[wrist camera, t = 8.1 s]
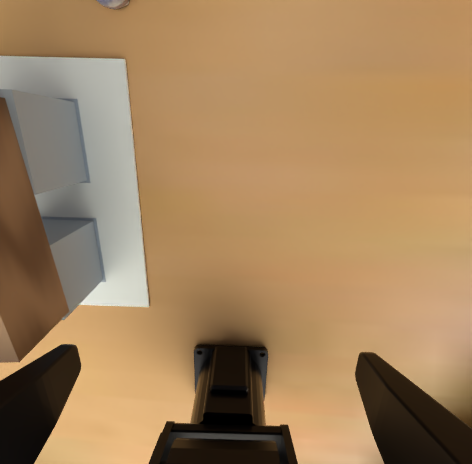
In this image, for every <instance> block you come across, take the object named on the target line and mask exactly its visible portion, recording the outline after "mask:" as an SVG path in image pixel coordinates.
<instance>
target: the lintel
mask: <svg viewBox="0 0 472 464" xmlns="http://www.w3.org/2000/svg"><path fill="white" fill-rule="evenodd" d="M68 312H69V308H68V305H67V301H66V298H65V295H64V292H63V288H62V285H61V282H60V278H59V275H58V272H57V268H56V265H55V262H54V258H53V255H52V252H51V249H50V245H49V242H48V239H47V235H46V232H45V229H44V225H43V222H42V219H41V216H40V212H39V209H38V206H37V202H36V199H35V196H34V192H33V189H32V186H31V183H30V179H29V176H28V173H27V169H26V166H25V163H24V159H23V156H22V153H21V150H20V146H19V143H18V140H17V136H16V133H15V130H14V126H13V123H12V120H11V116H10V113H9V110H8V107H7V103H6V100H5V98H2V97H0V362H20V361H21V360H22V359H23V358H24V357H25V356H26V355H27V354H28V353H29V352H30V351H31V350H32V349H33V348H34V347H35V346H36V345H37V344H38V343H39V342H40V341H41V340H42V339H43V338H44V337H45V336H46V335H47V334H48V333H49V331H50V330H51V329H52V328H53V327H54V326H55V325H56V324H57V323H58V322H59V321H60V320H61V319H62V318H63V317H64V316H65V315H66V314H67V313H68Z"/></svg>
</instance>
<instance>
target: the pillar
mask: <svg viewBox="0 0 472 464" xmlns="http://www.w3.org/2000/svg"><path fill="white" fill-rule="evenodd" d="M42 222H43V225H44V229H45V232H46V235H47V239H48V242H49V245H50V249H51V252H52V255H53V258H54V262H55V265H56V268H57V272H58V275H59V278H60V282H61V285H62V288H63V292H64V295H65V298H66V301H67V305H68V308H69V312H68V313H67V314H66V315H65V316H64V317H63V318H62V319H61V320H65V319H66V318H67V317H68V315H69V314H70V313H71V312H72V311H73V310H74V309H75V308H76V307H77V306H78V305H79V304H80V303H81V302H82V301H83V300H84V299H85V298H86V297H87V296H88V295H89V294H90V293H91V292H92V291H93V290H94V289H95V288H96V287H97V285H98V284H99V283H100V282H101V281H102V280H103V278H102V272H101V265H100V259H99V253H98V247H97V240H96V234H95V228H94V222H93V221H84V220H52V219H42Z"/></svg>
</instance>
